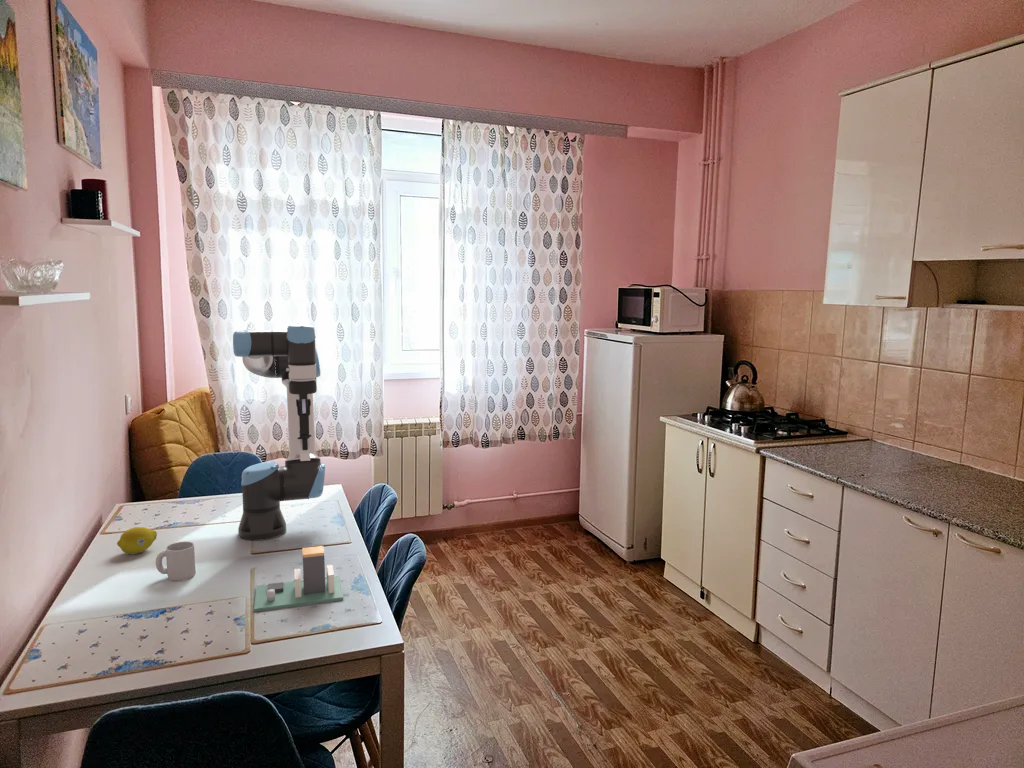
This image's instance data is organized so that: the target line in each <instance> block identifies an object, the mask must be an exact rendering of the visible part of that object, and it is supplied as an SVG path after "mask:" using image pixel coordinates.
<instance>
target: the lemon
mask: <svg viewBox="0 0 1024 768" xmlns="http://www.w3.org/2000/svg"><path fill="white" fill-rule="evenodd" d="M157 535H158V532H157V531H156V530H155V529H151V528H148V527H144V526H136V527H131V528H129V529H125V531H123V533H122V534H121V535H120V539H119V540H117V543H116V545H117V546H118V547H119V549H120V550H121V551H122V552H123V553H125V554H128V555H136V554H140V553H144V552H145V551H146V550H148V549H149V548H150V547H151V546H152V545H153V543H154V542H155V541H156V540H157Z"/></svg>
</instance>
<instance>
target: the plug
mask: <svg viewBox="0 0 1024 768" xmlns="http://www.w3.org/2000/svg"><path fill="white" fill-rule="evenodd" d="M301 549H302V554H301V555H302V577H303V578H302V579H303V583H304V594H311V593H319V592H325V577H326V571H325V569H326V568H325V567H326V566H325V565H326V563H325V549H324V545H317V546H309V547H302V548H301Z"/></svg>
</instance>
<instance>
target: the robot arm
mask: <svg viewBox="0 0 1024 768" xmlns="http://www.w3.org/2000/svg"><path fill="white" fill-rule="evenodd" d="M232 349H233V354H234V356H235V357H238V358H239V357H240V358H242V364H243V365H244V367H245V368H246V370H247V371H248V372H250V373H252V374H254V375H257V376H259V377H263V378H268V379H281V384H282V385H283V386H284V387H286V400H287V401H286V404H287V405H286V406H287V428H288V453H289V455H288V457H287V458H286V459H285V460H284V465H283V466H280V465H279V463H278V462H276V461H266V462H259V463H256V464H252V465H250V466H248V467H246V468H245V469H243V471H242V472H241V483H240V485H241V491H242V492H241V493H242V495H241V496H242V515H241V518H240V521H239V525H238V528H237V531H238V537H239V538H240V539H242V540H247V541H263V540H270V539H274V538H276V537H280V536H282V535H284V534H285V533H286V532H287V523H286V520H285V517H284V515H283V512H282V510H281V502H285V501H287V502H288V501H297V500H298V501H299V500H310V499H316V498H320V497H321V496H322V495H323V492H324V485H325V476H326V475H325V474H326V464H325V463H323V462H321V457H320V456H318V454H317V453H316V439H315V438H316V436H315V435H316V434H315V419H314V417H315V414H314V396H313V395H314V394H315V393H317V390H318V389H317V387H318V386H317V378H319V377H320V376H321V367H320V360H319V355H318V351H317V349H316V330H315V327H314V326H313V324H310V325H309V324H291V325H288V326H287V329H285V330H279V329H278V330H247V329H245V330H237V331H234V332H233V334H232Z"/></svg>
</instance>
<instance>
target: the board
mask: <svg viewBox="0 0 1024 768" xmlns="http://www.w3.org/2000/svg"><path fill="white" fill-rule="evenodd" d="M301 576H302V575H301V568H294V581H286V582H284V581H282V582H275V583H268V584H263V585H262V584H261V585H256V588H255V597H254V598H255V599H254V607H253V612H254V613H256V612H263V611H271V610H278V609H287V608H293V607H300V606H308V605H316V604H323V603H331V602H337V601H338V602H339V601H344V595H343V594H344V593H343V588H342V582H341V576H340V575H335V573H334V566H333V564H327V565H326V576H325V592H319V593H311V594H304V583H303V580H302V578H301Z"/></svg>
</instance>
